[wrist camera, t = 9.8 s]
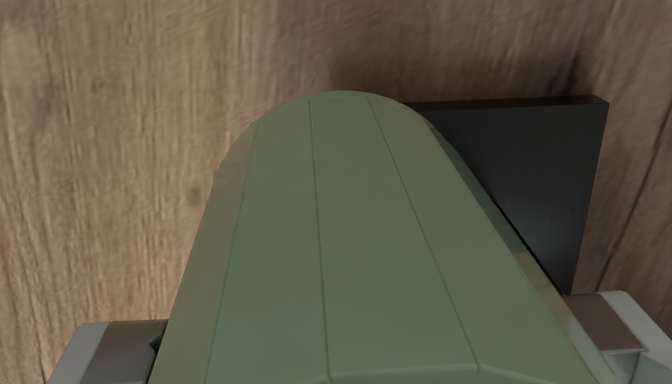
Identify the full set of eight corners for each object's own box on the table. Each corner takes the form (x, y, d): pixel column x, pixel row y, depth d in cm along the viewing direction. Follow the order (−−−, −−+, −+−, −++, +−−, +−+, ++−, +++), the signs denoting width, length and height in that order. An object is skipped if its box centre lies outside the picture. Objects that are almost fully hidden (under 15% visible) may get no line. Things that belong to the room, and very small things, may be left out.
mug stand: (248, 109, 21) (148, 471, 7) (594, 94, 22) (1140, 397, 8) (268, 312, 26) (231, 786, 11) (557, 295, 26) (860, 723, 12)
